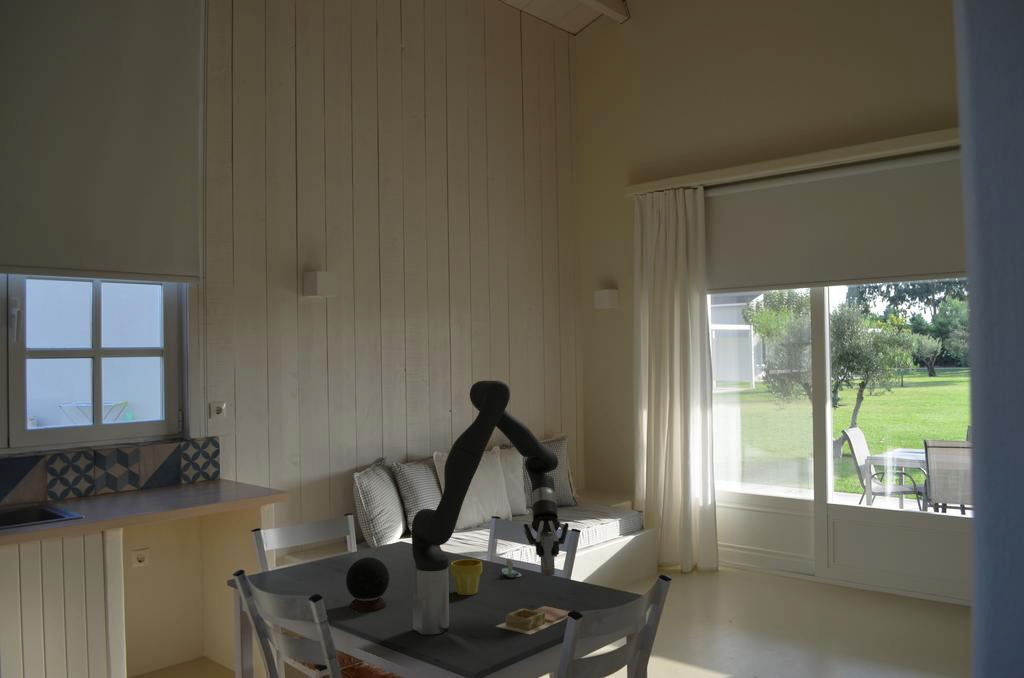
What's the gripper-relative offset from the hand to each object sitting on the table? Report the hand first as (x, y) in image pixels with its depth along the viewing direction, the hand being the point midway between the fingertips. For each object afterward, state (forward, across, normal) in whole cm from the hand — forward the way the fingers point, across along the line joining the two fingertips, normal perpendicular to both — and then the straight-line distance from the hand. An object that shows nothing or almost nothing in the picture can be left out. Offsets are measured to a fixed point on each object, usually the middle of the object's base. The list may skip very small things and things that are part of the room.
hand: (548, 555), depth 233 cm
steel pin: (+3, 0, +6) cm, 6 cm away
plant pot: (-9, -25, +36) cm, 44 cm away
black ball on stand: (+1, -55, +26) cm, 61 cm away
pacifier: (-23, -9, +51) cm, 56 cm away
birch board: (+15, -4, +12) cm, 19 cm away
